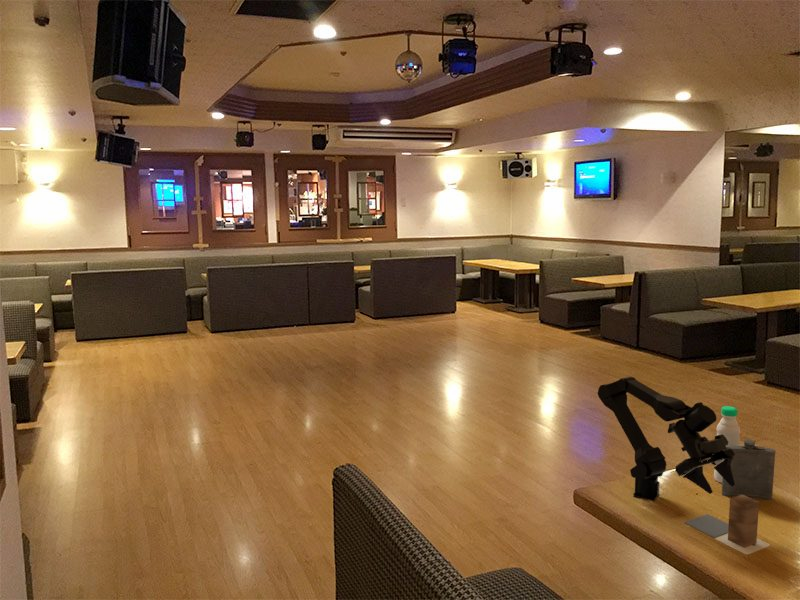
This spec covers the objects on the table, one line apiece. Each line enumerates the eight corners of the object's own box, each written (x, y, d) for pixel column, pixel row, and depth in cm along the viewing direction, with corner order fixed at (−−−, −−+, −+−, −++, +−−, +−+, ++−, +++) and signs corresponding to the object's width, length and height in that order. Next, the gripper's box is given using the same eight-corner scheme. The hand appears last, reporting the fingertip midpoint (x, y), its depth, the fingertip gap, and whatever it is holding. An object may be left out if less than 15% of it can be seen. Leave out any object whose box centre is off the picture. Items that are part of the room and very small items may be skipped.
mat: (683, 524, 192) (683, 522, 192) (707, 515, 196) (707, 513, 196) (714, 539, 183) (714, 537, 183) (738, 530, 187) (738, 528, 187)
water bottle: (740, 479, 220) (744, 407, 216) (733, 486, 215) (737, 412, 211) (717, 474, 225) (721, 403, 221) (710, 480, 220) (714, 408, 216)
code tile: (713, 539, 183) (713, 537, 183) (737, 530, 188) (737, 528, 187) (746, 556, 174) (746, 554, 174) (771, 546, 179) (771, 544, 179)
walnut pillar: (727, 539, 182) (730, 498, 180) (739, 535, 184) (742, 494, 182) (744, 547, 177) (746, 505, 176) (756, 543, 180) (759, 501, 178)
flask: (720, 491, 212) (723, 437, 209) (769, 495, 208) (773, 440, 206) (722, 496, 209) (725, 441, 206) (773, 500, 205) (777, 444, 202)
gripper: (685, 432, 183) (719, 485, 175) (730, 420, 191) (764, 470, 183) (661, 450, 191) (692, 501, 183) (705, 438, 199) (737, 486, 191)
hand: (722, 489), depth 185 cm, fingers open, 9 cm apart
